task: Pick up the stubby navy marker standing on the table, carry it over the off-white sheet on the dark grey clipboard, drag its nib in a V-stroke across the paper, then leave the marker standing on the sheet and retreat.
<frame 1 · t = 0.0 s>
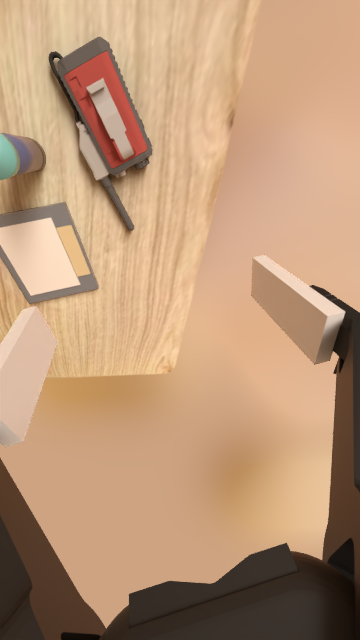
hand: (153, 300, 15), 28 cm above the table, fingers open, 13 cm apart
clipboard: (46, 256, 38), on the table
marker: (30, 154, 31), on the table
walkie-talkie: (116, 148, 33), on the table
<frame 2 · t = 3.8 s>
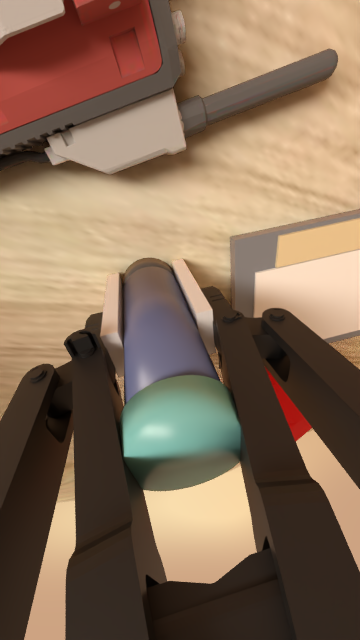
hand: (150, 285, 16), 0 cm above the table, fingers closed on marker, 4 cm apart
heart: (278, 389, 28), on the table
clipboard: (311, 291, 20), on the table
marker: (149, 282, 17), on the table, touching gripper
walkie-talkie: (105, 51, 11), on the table
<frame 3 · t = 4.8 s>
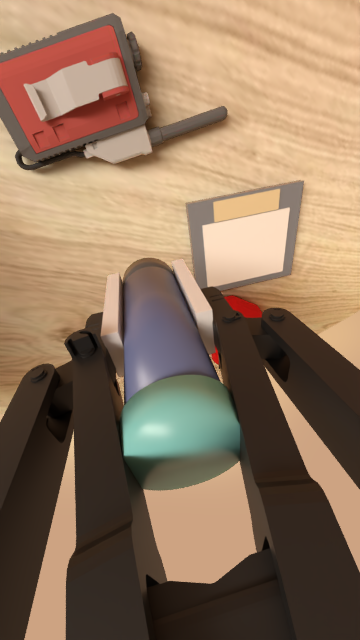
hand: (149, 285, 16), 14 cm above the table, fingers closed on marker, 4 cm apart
heart: (235, 322, 39), on the table
clipboard: (243, 242, 31), on the table
marker: (149, 282, 17), point 14 cm above the table, touching gripper
walkie-talkie: (113, 104, 22), on the table
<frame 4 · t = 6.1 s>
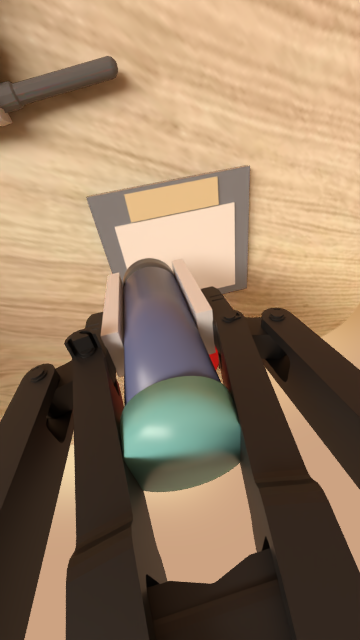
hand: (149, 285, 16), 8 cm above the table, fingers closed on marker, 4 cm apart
clipboard: (179, 248, 24), on the table
marker: (149, 283, 17), point 8 cm above the table, touching gripper
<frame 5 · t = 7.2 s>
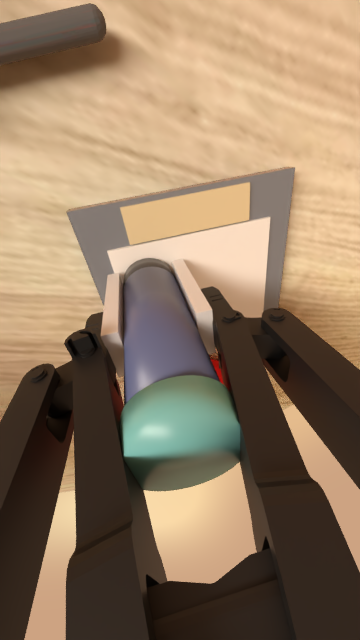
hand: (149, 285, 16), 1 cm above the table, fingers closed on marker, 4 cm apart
clipboard: (193, 275, 18), on the table
marker: (149, 282, 17), point 1 cm above the table, touching gripper
when the fingers open (1 cm above the table, at t = 9.9 s): marker stays where it is, point 1 cm above the table.
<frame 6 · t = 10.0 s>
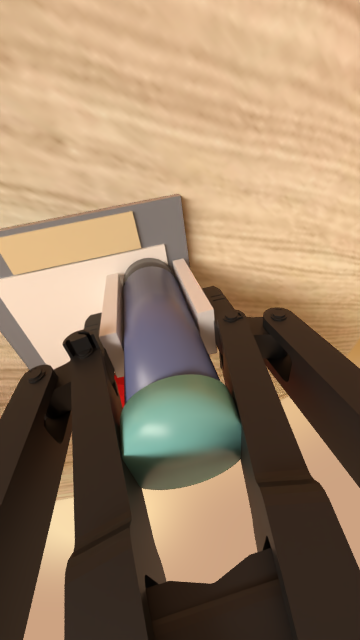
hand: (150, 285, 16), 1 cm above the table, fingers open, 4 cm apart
clipboard: (99, 300, 18), on the table
marker: (149, 282, 17), point 1 cm above the table
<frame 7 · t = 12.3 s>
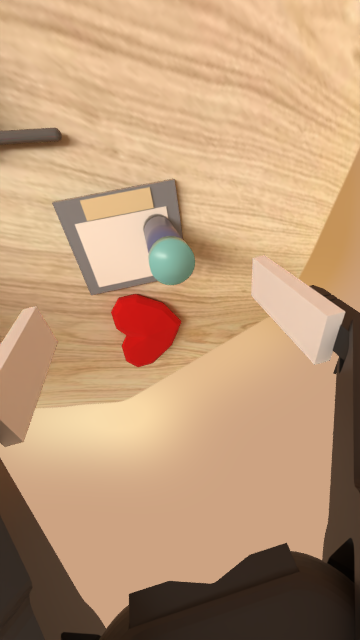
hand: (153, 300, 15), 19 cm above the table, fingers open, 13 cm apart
heart: (149, 320, 39), on the table
clipboard: (128, 241, 31), on the table
marker: (157, 229, 30), point 1 cm above the table, touching clipboard
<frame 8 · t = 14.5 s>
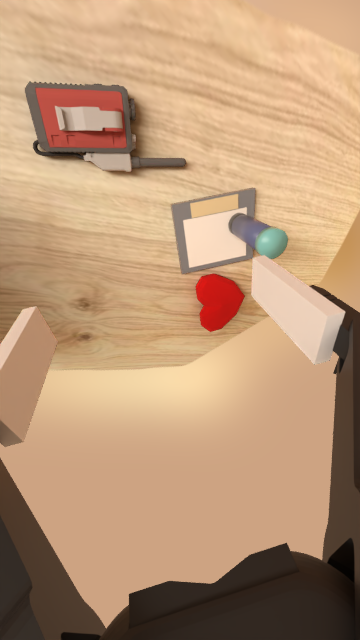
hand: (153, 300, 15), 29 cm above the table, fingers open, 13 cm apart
heart: (218, 296, 51), on the table
clipboard: (214, 233, 42), on the table
marker: (238, 223, 41), point 1 cm above the table, touching clipboard
walkie-talkie: (112, 133, 33), on the table
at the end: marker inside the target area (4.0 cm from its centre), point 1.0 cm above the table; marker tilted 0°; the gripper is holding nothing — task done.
